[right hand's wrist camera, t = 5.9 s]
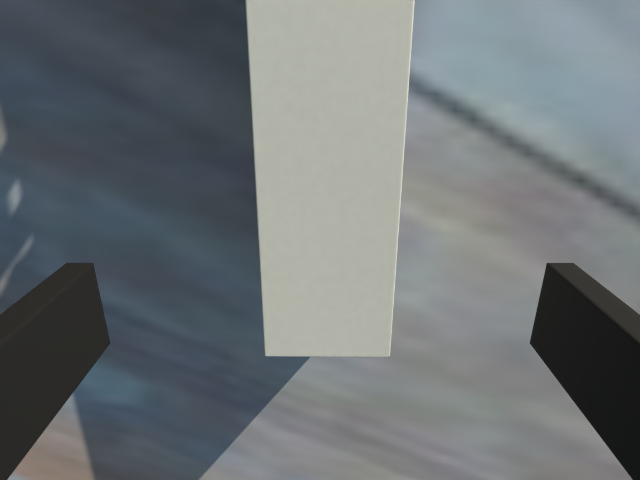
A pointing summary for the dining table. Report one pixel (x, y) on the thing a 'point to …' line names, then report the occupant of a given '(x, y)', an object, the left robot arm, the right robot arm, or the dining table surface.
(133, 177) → the dining table surface
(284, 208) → the plank
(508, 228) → the dining table surface
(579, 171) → the dining table surface
